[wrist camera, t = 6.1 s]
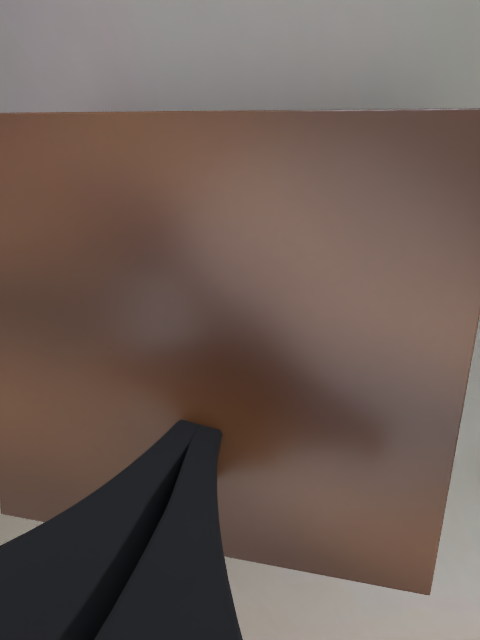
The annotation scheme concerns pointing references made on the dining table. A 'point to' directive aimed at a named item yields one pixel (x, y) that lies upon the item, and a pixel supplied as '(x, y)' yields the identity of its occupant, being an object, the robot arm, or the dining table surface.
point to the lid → (246, 318)
